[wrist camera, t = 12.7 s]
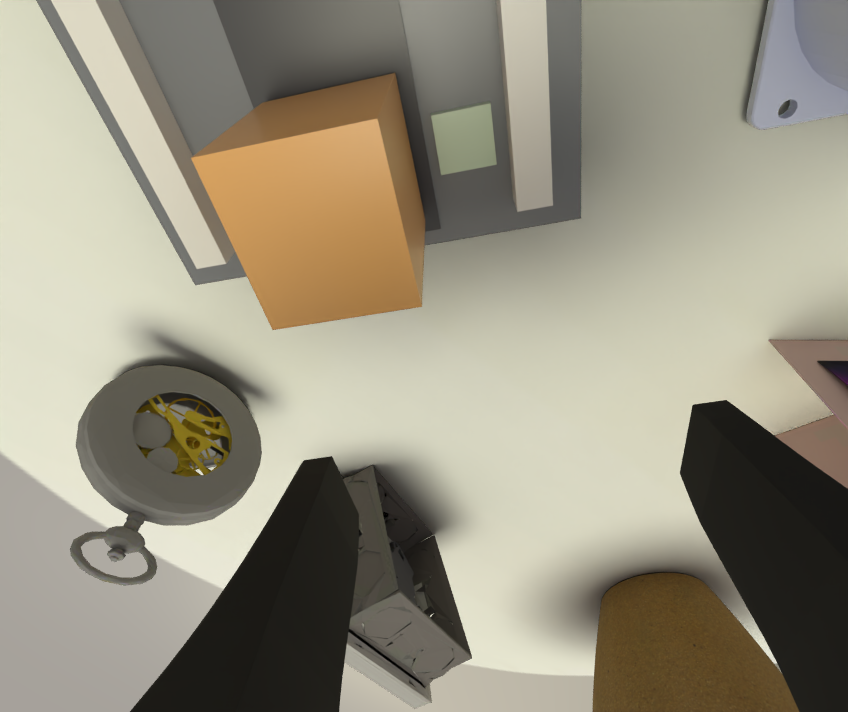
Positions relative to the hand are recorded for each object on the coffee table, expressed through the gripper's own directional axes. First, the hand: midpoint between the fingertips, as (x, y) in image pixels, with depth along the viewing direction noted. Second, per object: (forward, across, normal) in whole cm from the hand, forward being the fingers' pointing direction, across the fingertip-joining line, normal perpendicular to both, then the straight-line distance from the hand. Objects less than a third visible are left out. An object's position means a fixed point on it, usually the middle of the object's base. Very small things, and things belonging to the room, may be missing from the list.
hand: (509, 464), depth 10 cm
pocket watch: (+11, +14, +6) cm, 19 cm away
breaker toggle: (+8, +3, -4) cm, 9 cm away
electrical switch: (+11, +7, +15) cm, 20 cm away
